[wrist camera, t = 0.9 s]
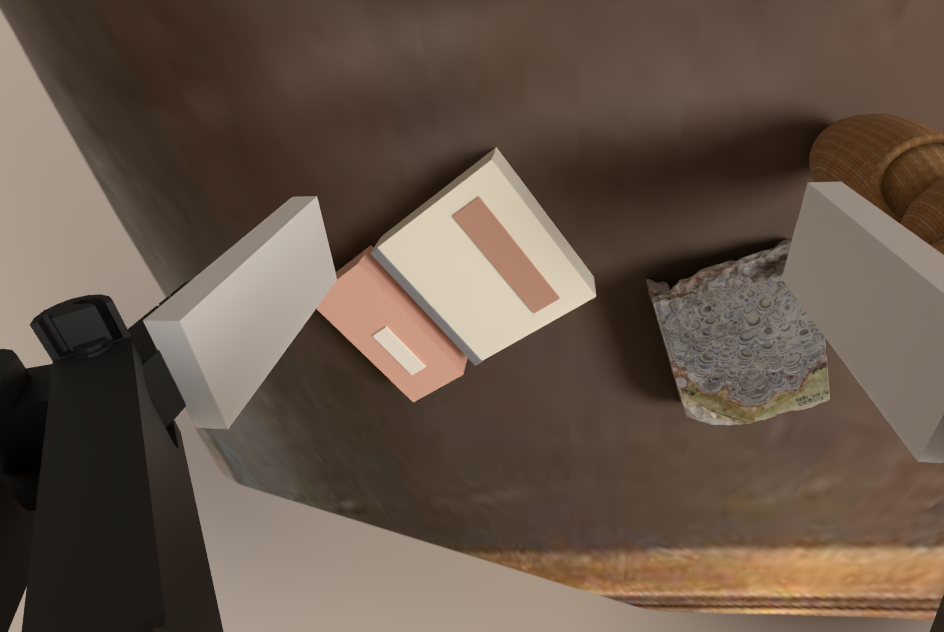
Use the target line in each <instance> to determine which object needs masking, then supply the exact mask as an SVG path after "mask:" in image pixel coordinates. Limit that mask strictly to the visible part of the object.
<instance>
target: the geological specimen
mask: <svg viewBox="0 0 944 632" xmlns="http://www.w3.org/2000/svg"><path fill="white" fill-rule="evenodd" d="M791 242H792V240H791V239H787V240H783V241H781V242H780V243H779V244H778V245H777V246H776V247H774V248H773V249H769V250H764V251H761V252H758V253H754V254H751V255H749V256H746V257H743V258H741V259H739V260H738V261H726V262H724V263H721V264H717V265H713V266H710V267H706V268H704V269H701V270H699V271H698V272H697V273H696V274H695V275H693V276H692V277H689V278H687V279H681V280H679V281H678V283H677V284H676V285H675V286H673V288H672V289H670V286H669V285H668V284H667V283H665V282H659V283H657V282H654V281H653V280H649V279H647V280H646V283H647V287H648V291H649V295H650V298H651V301H652V304H653V308H654V311H655V315H656V318H657V321H658V324H659V328H660V331H661V334H662V338H663V341H664V345H665V348H666V352H667V355H668V358H669V361H670V366H671V369H672V373H673V376H674V380H675V383H676V386H677V390H678V393H679V396H680V400H681V403H682V406H683V409H684V411H685V415H686V416H687V417H688V418H690V419H696V420H698V421H701V422H705V423H708V424H712V425H728V426H729V425H733V424H749V423H752V422H755V421H759V420H765V419H767V418H770V417H773V416H775V415H776V414H781V413H784V412H788V411H790V410H802V409H805V408H811V407H813V406H815V405H817V404H819V403H822V402H826V401H828V400H830V393H829V382H828V369H827V356H826V354H825V349H826V347H825V337H824V335H823V334H822V333H821V331H820V330H819V329H818V327H817V326H816V325H815V323H814V322H813V321H812V319H811V318H810V316H809V315H808V314H807V312H806V311H805V310H804V308H803V307H802V306H801V304H800V303H799V302H798V300H797V299H796V298H795V296H794V295H793V294H792V292H791V291H790V290H789V288H788V287H787V286H786V284H785V283H784V282H783V280H782V275H783V272H784V268H785V264H786V261H787V257H788V253H789V250H790V246H791Z"/></svg>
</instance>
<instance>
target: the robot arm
mask: <svg viewBox="0 0 944 632" xmlns="http://www.w3.org/2000/svg"><path fill="white" fill-rule="evenodd" d="M782 280H783V282H784V283H785V284H786V286H787V287H788V288H789V290H790V291H791V292H792V294H793V295H794V296H795V298H796V299H797V300H798V302H799V303H800V304H801V306H802V307H803V308H804V310H805V311H806V312H807V314H808V315H809V316H810V318H811V319H812V321H813V322H814V323H815V325H816V326H817V327H818V329H819V330H820V331H821V333H822V334H823V335H824V337H825V338H826V339H827V341H828V342H829V343H830V345H831V346H832V347H833V349H834V350H835V351H836V353H837V354H838V355H839V357H840V358H841V359H842V361H843V362H844V363H845V365H846V366H847V368H848V369H849V370H850V372H851V373H852V374H853V376H854V377H855V378H856V380H857V381H858V382H859V384H860V385H861V386H862V388H863V389H864V390H865V392H866V393H867V394H868V396H869V397H870V398H871V400H872V401H873V402H874V404H875V405H876V406H877V408H878V409H879V410H880V412H881V413H882V415H883V416H884V417H885V419H886V420H887V421H888V423H889V424H890V425H891V427H892V428H893V429H894V431H895V432H896V433H897V435H898V436H899V437H900V439H901V440H902V441H903V443H904V444H905V445H906V447H907V448H908V449H909V451H910V452H911V453H912V455H913V456H914V458H915V459H916V460H917V462H936V463H944V255H943V254H941V253H940V252H939V251H937V250H936V249H935V248H933V247H932V246H930V245H929V244H928V243H926V242H925V241H923V240H922V239H921V238H919V237H918V236H916V235H915V234H914V233H912V232H911V231H909V230H908V229H907V228H905V227H904V226H902V225H901V224H900V223H898V222H897V221H896V220H894V219H893V218H891V217H890V216H889V215H887V214H886V213H884V212H883V211H882V210H880V209H879V208H877V207H876V206H875V205H873V204H872V203H870V202H869V201H868V200H866V199H865V198H863V197H862V196H861V195H859V194H858V193H856V192H855V191H854V190H852V189H851V188H850V187H848V186H847V185H845V184H844V183H843V182H808V184H807V187H806V191H805V195H804V198H803V202H802V206H801V209H800V213H799V217H798V220H797V224H796V228H795V231H794V235H793V239H792V242H791V246H790V250H789V253H788V257H787V261H786V264H785V268H784V272H783V275H782ZM336 281H337V277H336V272H335V268H334V264H333V260H332V256H331V252H330V248H329V244H328V240H327V235H326V231H325V227H324V223H323V219H322V215H321V211H320V207H319V203H318V198H317V196H308V197H292V198H290V199H289V200H288V201H287V202H286V203H284V204H283V205H282V206H281V207H280V208H278V209H277V210H276V211H275V212H274V213H272V214H271V215H270V216H269V217H267V218H266V219H265V220H264V221H263V222H261V223H260V224H259V225H258V226H257V227H255V228H254V229H253V230H252V231H251V232H249V233H248V234H247V235H246V236H244V237H243V238H242V239H241V240H240V241H238V242H237V243H236V244H235V245H234V246H232V247H231V248H230V249H229V250H228V251H226V252H225V253H224V254H223V255H222V256H220V257H219V258H218V259H217V260H215V261H214V262H213V263H212V264H211V265H209V266H208V267H207V268H206V269H205V270H203V271H202V272H201V273H200V274H199V275H197V276H196V277H195V278H193V279H191V280H189V281H187V282H185V283H184V284H183V285H181V286H180V287H179V288H178V289H177V290H175V291H174V292H173V293H172V294H171V297H167V298H166V299H164V300H163V301H162V302H161V303H159V306H156V307H155V308H153V309H152V310H151V311H150V312H149V313H147V314H146V315H145V316H144V317H142V318H141V319H140V320H139V321H138V322H136V323H135V324H134V325H133V326H131V327H130V328H129V329H127V328H126V326H125V324H124V322H123V320H122V318H121V316H120V314H119V312H118V310H117V308H116V307H115V304H114V302H113V301H112V299H111V298H110V297H109V296H105V295H87V296H83V297H78V298H73V299H70V300H67V301H65V302H62V303H59V304H57V305H55V306H53V307H51V308H49V309H47V310H44V311H43V312H42V313H40V314H39V315H38V316H36V317H35V318H34V319H33V321H32V322H31V324H30V326H31V328H32V329H33V330H34V332H35V334H36V335H37V337H38V339H39V340H40V342H41V343H42V345H43V347H44V348H45V350H46V351H47V353H48V354H49V356H50V358H51V359H52V361H53V364H50V365H44V366H38V367H32V368H27V369H26V368H25V367H24V366H23V364H22V362H21V361H20V359H19V358H18V356H17V355H16V354H15V353H14V352H13V351H12V350H7V349H0V632H8V630H9V628H10V625H11V623H12V620H13V618H14V616H15V613H16V611H17V608H18V606H19V603H20V601H21V599H22V596H23V594H24V591H25V589H26V586H27V591H26V599H25V607H24V617H23V625H22V632H223V628H222V623H221V619H220V614H219V609H218V605H217V600H216V595H215V590H214V586H213V581H212V576H211V572H210V567H209V562H208V558H207V553H206V548H205V544H204V539H203V534H202V530H201V525H200V521H199V516H198V511H197V506H196V502H195V497H194V492H193V488H192V483H191V479H190V474H189V469H188V464H187V460H186V455H185V450H184V446H183V441H182V436H181V432H180V430H179V428H178V426H177V424H176V422H175V420H174V419H175V418H176V417H177V416H178V415H179V413H180V412H181V411H182V410H183V409H184V408H185V407H186V409H187V411H188V413H189V415H190V417H191V419H192V421H193V423H194V425H195V427H196V428H213V429H229V427H230V426H231V425H232V423H233V422H234V420H235V419H236V418H237V416H238V415H239V414H240V412H241V411H242V409H243V408H244V407H245V405H246V404H247V403H248V401H249V400H250V398H251V397H252V396H253V394H254V393H255V392H256V390H257V389H258V388H259V386H260V385H261V383H262V382H263V381H264V379H265V378H266V377H267V375H268V374H269V372H270V371H271V370H272V368H273V367H274V366H275V364H276V363H277V361H278V360H279V359H280V357H281V356H282V355H283V353H284V352H285V351H286V349H287V348H288V346H289V345H290V344H291V342H292V341H293V340H294V338H295V337H296V335H297V334H298V333H299V331H300V330H301V329H302V327H303V326H304V324H305V323H306V322H307V320H308V319H309V318H310V316H311V315H312V314H313V312H314V311H315V309H316V308H317V307H318V305H319V304H320V303H321V301H322V300H323V298H324V297H325V296H326V294H327V293H328V292H329V290H330V289H331V287H332V286H333V285H334V283H335V282H336ZM930 632H944V595H943V598H942V601H941V603H940V606H939V609H938V611H937V614H936V617H935V619H934V622H933V625H932V627H931V630H930Z"/></svg>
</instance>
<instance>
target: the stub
mask: <svg viewBox="0 0 944 632" xmlns="http://www.w3.org/2000/svg"><path fill="white" fill-rule="evenodd" d="M373 248H374V247H373V246H372V245H370V246H369V247H368V248H366V249H365V250H364V251H363V252H361V253H360V254H359V255H357V256H356V257H355V258H354V259H352V260H351V261H350V262H348V263H347V264H346V265H345V266H343V267H342V268H341V269H339V270H338V271H337V272H336V277H337V281H336V282H335V283H334V285H333V286H332V287H331V289H330V290H329V292H328V293H327V294H326V296H325V297H324V298H323V300H322V301H321V303H320V304H319V305H318V307H317V308H316V309H317V310H318V311H319V312H320V313H321V314H322V315H323V316H324V317H325V318H326V319H328V320H329V321H330V322H331V323H332V324H333V325H334V326H335V327H336V328H337V329H338V330H339V331H340V332H341V333H342V334H343V335H344V336H345V337H346V338H347V339H348V340H349V341H350V342H351V343H352V344H353V345H354V346H355V347H357V348H358V349H359V350H360V351H361V352H362V353H363V354H364V355H365V356H366V357H367V358H368V359H369V360H370V361H371V362H372V363H373V364H374V365H375V366H376V367H377V368H378V369H379V370H380V371H381V372H382V373H383V374H384V375H385V376H387V377H388V378H389V379H390V380H391V381H392V382H393V383H394V384H395V385H396V386H397V387H398V388H399V389H400V390H401V391H402V392H403V393H404V394H405V395H406V396H407V397H408V398H409V399H410V400H411V401H412V402H415V401H417V400H418V399H420V398H422V397H424V396H426V395H427V394H429V393H431V392H433V391H435V390H436V389H438V388H440V387H442V386H444V385H445V384H447V383H449V382H451V381H452V380H454V379H456V378H458V377H460V376H461V375H463V374H464V370H465V366H466V361H467V356H466V355H465V354H464V353H463V352H462V351H461V350H460V349H459V348H458V347H457V346H456V344H455V343H454V342H453V341H452V340H451V339H450V338H449V337H448V336H447V335H446V334H445V333H444V332H443V331H442V330H441V328H440V327H439V326H438V325H437V324H436V323H435V322H434V321H433V320H432V319H431V318H430V317H429V316H428V315H427V313H426V312H425V311H424V310H423V309H422V308H421V307H420V306H419V305H418V304H417V303H416V302H415V301H414V300H413V299H412V297H411V296H410V295H409V294H408V293H407V292H406V291H405V290H404V289H403V288H402V287H401V286H400V285H399V284H398V282H397V281H396V280H395V279H394V278H393V277H392V276H391V275H390V274H389V273H388V272H387V271H386V270H385V269H384V268H383V266H382V265H381V264H380V263H379V262H378V261H377V260H376V259H375V258H374V257H373V256H372V255H371V254H370V253H371V251H372V250H373Z"/></svg>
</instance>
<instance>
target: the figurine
mask: <svg viewBox="0 0 944 632" xmlns="http://www.w3.org/2000/svg"><path fill="white" fill-rule="evenodd" d="M809 166H810V171H811V175H812V177H813V179H814V181H815V182H843V183H844V184H845V185H847V186H848V187H850V188H851V189H852V190H854V191H855V192H856V193H858V194H859V195H861V196H862V197H863V198H865V199H866V200H868V201H869V202H870V203H872V204H873V205H875V206H876V207H877V208H879V209H880V210H882V211H883V212H884V213H886V214H887V215H889V216H890V217H891V218H893V219H894V220H896V221H897V222H898V223H900V224H901V225H902V226H904V227H905V228H907V229H908V230H909V231H911V232H912V233H914V234H915V235H916V236H918V237H919V238H921V239H922V240H923V241H925V242H926V243H928V244H929V245H930V246H932V247H933V248H935V249H936V250H937V251H939V252H940V253H941V254H943V255H944V133H941V132H939V131H937V130H935V129H934V128H932V127H930V126H928V125H926V124H923V123H921V122H918V121H915V120H912V119H908V118H904V117H898V116H893V115H886V114H869V115H857V116H853V117H849V118H845V119H842V120H839V121H837V122H835V123H833V124H831V125H830V126H828V127H827V128H826V129H824V130H823V131H822V132H821V133H820V134H819V135H818V137H817V138H816V140H815V141H814V143H813V145H812V148H811V151H810V156H809Z"/></svg>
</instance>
